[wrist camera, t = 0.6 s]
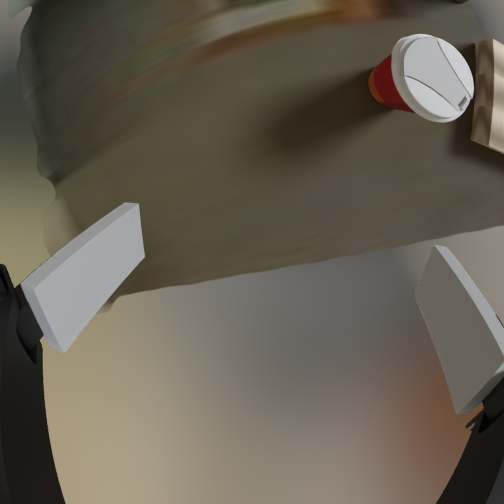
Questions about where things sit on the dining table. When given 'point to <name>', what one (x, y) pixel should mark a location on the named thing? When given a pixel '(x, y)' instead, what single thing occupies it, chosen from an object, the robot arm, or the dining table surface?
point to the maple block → (489, 95)
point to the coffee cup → (423, 79)
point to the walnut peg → (460, 1)
